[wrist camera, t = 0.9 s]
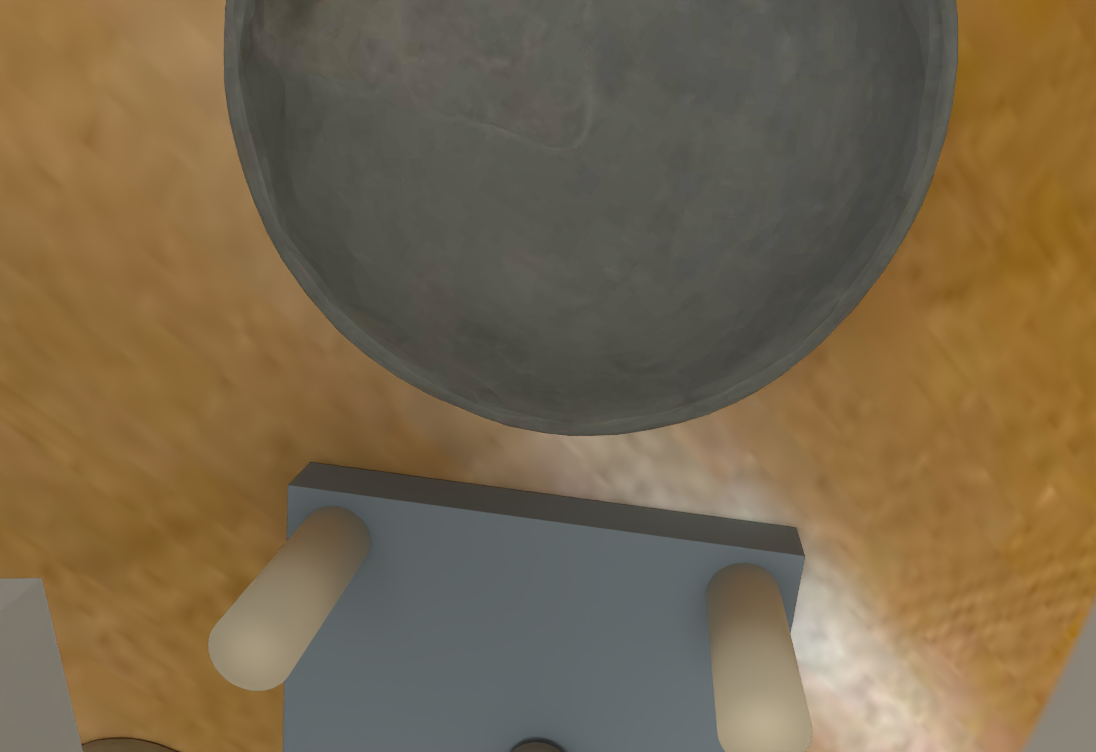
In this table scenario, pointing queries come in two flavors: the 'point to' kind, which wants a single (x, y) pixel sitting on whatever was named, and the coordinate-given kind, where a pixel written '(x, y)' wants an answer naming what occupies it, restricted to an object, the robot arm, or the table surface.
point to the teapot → (123, 746)
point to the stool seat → (517, 623)
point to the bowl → (588, 186)
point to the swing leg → (536, 748)
